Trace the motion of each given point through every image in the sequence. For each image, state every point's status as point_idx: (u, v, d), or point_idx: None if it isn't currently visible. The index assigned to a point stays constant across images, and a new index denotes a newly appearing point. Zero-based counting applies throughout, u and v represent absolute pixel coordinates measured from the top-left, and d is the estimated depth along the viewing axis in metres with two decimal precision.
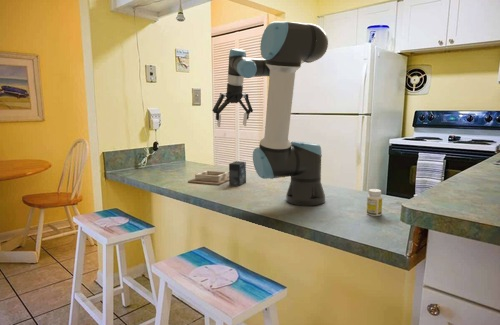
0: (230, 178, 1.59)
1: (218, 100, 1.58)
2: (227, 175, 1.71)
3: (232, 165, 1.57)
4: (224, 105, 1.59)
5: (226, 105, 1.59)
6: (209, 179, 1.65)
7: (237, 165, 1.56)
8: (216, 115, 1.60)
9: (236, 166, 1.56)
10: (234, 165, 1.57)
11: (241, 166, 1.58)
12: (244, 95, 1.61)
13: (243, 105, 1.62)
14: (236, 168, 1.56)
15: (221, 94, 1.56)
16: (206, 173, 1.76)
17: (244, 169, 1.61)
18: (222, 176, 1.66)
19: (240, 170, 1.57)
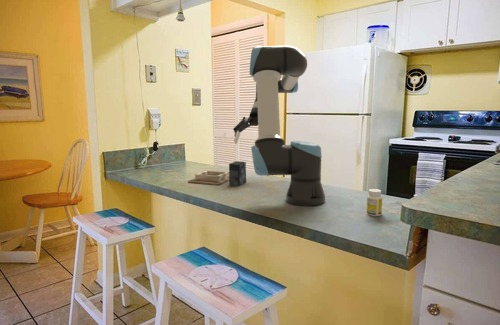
0: (230, 178, 1.59)
1: None
2: (227, 175, 1.71)
3: (232, 165, 1.57)
4: (243, 124, 1.76)
5: (245, 124, 1.76)
6: (209, 179, 1.65)
7: (237, 165, 1.56)
8: (235, 133, 1.76)
9: (236, 166, 1.56)
10: (234, 165, 1.57)
11: (241, 166, 1.58)
12: None
13: None
14: (236, 168, 1.56)
15: None
16: (206, 173, 1.76)
17: (244, 169, 1.61)
18: (222, 176, 1.66)
19: (240, 170, 1.57)
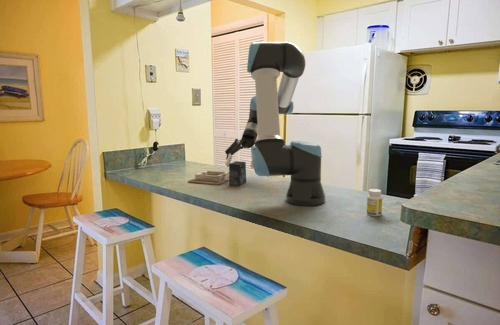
0: (230, 178, 1.59)
1: None
2: (227, 175, 1.71)
3: (232, 165, 1.57)
4: (235, 147, 1.70)
5: (237, 146, 1.70)
6: (209, 179, 1.65)
7: (237, 165, 1.56)
8: (227, 155, 1.69)
9: (236, 166, 1.56)
10: (234, 165, 1.57)
11: (241, 166, 1.58)
12: None
13: None
14: (236, 168, 1.56)
15: (236, 139, 1.74)
16: (206, 173, 1.76)
17: (244, 169, 1.61)
18: (222, 176, 1.66)
19: (240, 170, 1.57)
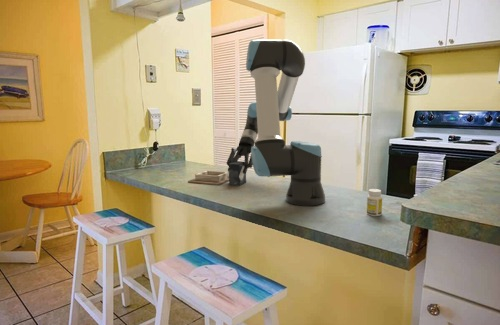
0: (230, 178, 1.59)
1: None
2: None
3: (232, 165, 1.57)
4: (235, 156, 1.64)
5: (236, 156, 1.64)
6: (209, 179, 1.65)
7: (237, 165, 1.56)
8: None
9: (236, 166, 1.56)
10: (234, 165, 1.57)
11: (241, 166, 1.58)
12: None
13: (245, 157, 1.62)
14: (236, 167, 1.56)
15: (231, 149, 1.69)
16: (206, 173, 1.76)
17: None
18: (222, 176, 1.66)
19: (240, 170, 1.57)
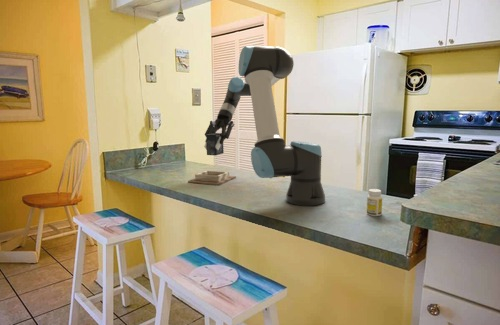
0: (207, 148, 1.65)
1: None
2: (227, 175, 1.71)
3: (209, 135, 1.63)
4: (213, 128, 1.71)
5: (214, 128, 1.70)
6: (209, 179, 1.65)
7: (214, 135, 1.62)
8: None
9: (213, 136, 1.62)
10: (211, 135, 1.63)
11: (218, 136, 1.64)
12: (230, 122, 1.70)
13: (223, 128, 1.68)
14: (213, 138, 1.63)
15: None
16: (206, 173, 1.76)
17: None
18: (222, 176, 1.66)
19: (217, 140, 1.63)
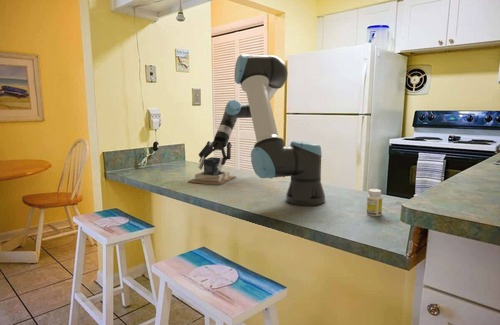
0: (205, 173, 1.68)
1: None
2: (227, 175, 1.71)
3: (207, 160, 1.66)
4: (208, 149, 1.74)
5: (210, 149, 1.74)
6: (209, 179, 1.65)
7: (211, 161, 1.65)
8: None
9: (210, 161, 1.65)
10: (208, 161, 1.66)
11: (215, 162, 1.67)
12: (227, 143, 1.73)
13: (222, 150, 1.70)
14: (210, 163, 1.65)
15: (208, 142, 1.78)
16: None
17: (218, 164, 1.70)
18: (222, 176, 1.66)
19: (214, 165, 1.66)
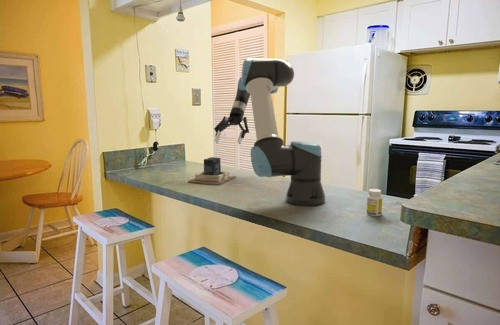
0: (205, 173, 1.68)
1: None
2: (227, 175, 1.71)
3: (207, 160, 1.66)
4: (224, 124, 1.83)
5: (225, 124, 1.83)
6: (209, 179, 1.65)
7: (211, 161, 1.65)
8: (216, 132, 1.83)
9: (210, 161, 1.65)
10: (208, 161, 1.66)
11: (215, 162, 1.67)
12: (243, 118, 1.82)
13: (240, 124, 1.79)
14: (210, 163, 1.65)
15: (224, 117, 1.86)
16: None
17: (218, 164, 1.70)
18: (222, 176, 1.66)
19: (214, 165, 1.66)
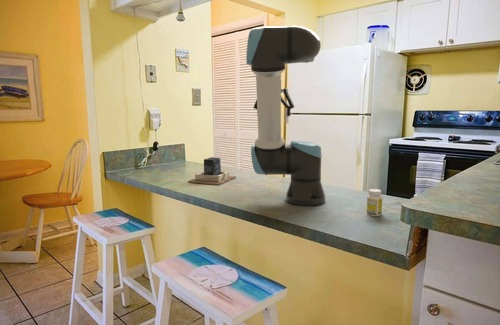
0: (205, 173, 1.68)
1: None
2: (227, 175, 1.71)
3: (207, 160, 1.66)
4: None
5: None
6: (209, 179, 1.65)
7: (211, 161, 1.65)
8: None
9: (210, 161, 1.65)
10: (208, 161, 1.66)
11: (215, 162, 1.67)
12: (283, 90, 1.58)
13: (282, 100, 1.58)
14: (210, 163, 1.65)
15: None
16: None
17: (218, 164, 1.70)
18: (222, 176, 1.66)
19: (214, 165, 1.66)
